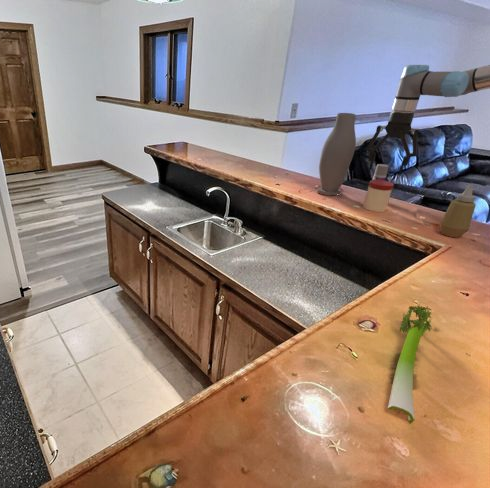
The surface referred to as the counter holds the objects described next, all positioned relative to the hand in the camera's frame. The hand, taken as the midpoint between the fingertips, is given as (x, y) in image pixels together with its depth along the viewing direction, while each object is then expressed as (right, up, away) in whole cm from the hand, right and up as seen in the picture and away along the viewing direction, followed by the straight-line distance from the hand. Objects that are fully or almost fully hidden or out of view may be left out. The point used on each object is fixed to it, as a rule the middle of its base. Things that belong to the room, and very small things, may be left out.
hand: (384, 171), depth 139 cm
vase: (-11, -5, +24) cm, 27 cm away
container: (+6, -9, +18) cm, 21 cm away
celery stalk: (-40, -52, -71) cm, 97 cm away
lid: (0, -4, +2) cm, 5 cm away
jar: (0, -14, +7) cm, 16 cm away
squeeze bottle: (+13, -26, -16) cm, 33 cm away
